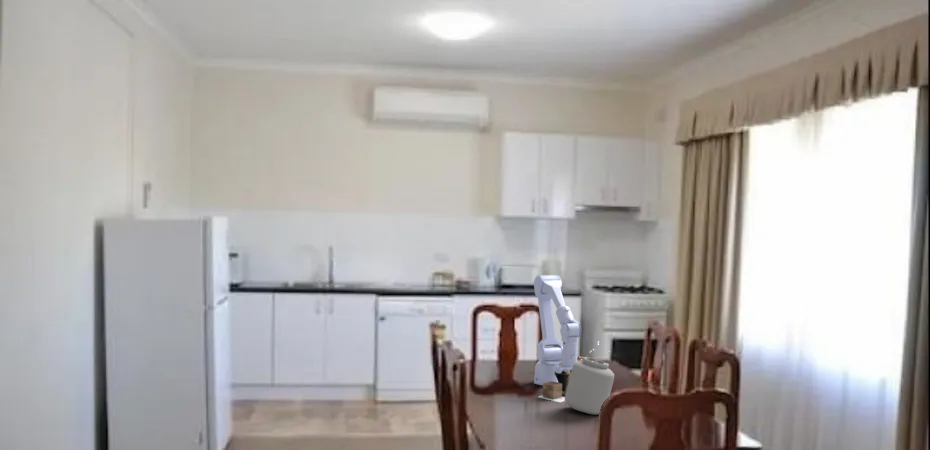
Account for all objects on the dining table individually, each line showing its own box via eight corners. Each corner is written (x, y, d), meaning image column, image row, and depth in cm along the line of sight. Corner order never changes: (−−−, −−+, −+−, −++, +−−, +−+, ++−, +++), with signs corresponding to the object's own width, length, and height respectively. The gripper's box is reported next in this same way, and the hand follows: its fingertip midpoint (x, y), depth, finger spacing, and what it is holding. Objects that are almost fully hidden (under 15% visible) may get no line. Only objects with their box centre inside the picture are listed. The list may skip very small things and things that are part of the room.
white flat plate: (537, 397, 279) (537, 396, 279) (549, 394, 284) (549, 393, 284) (559, 402, 272) (559, 401, 272) (570, 399, 277) (570, 398, 277)
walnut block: (542, 396, 279) (543, 383, 278) (551, 394, 282) (551, 381, 282) (553, 399, 275) (553, 385, 275) (561, 397, 279) (562, 383, 278)
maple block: (560, 393, 286) (560, 377, 285) (567, 391, 289) (567, 376, 289) (569, 395, 282) (570, 380, 282) (576, 393, 286) (577, 378, 285)
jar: (611, 406, 269) (614, 337, 268) (623, 418, 255) (626, 345, 254) (560, 406, 268) (562, 336, 267) (569, 418, 253) (572, 345, 252)
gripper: (566, 358, 277) (565, 394, 278) (589, 353, 287) (588, 388, 288) (551, 355, 282) (550, 390, 283) (574, 350, 292) (573, 384, 293)
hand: (568, 389), depth 286 cm, fingers open, 7 cm apart
